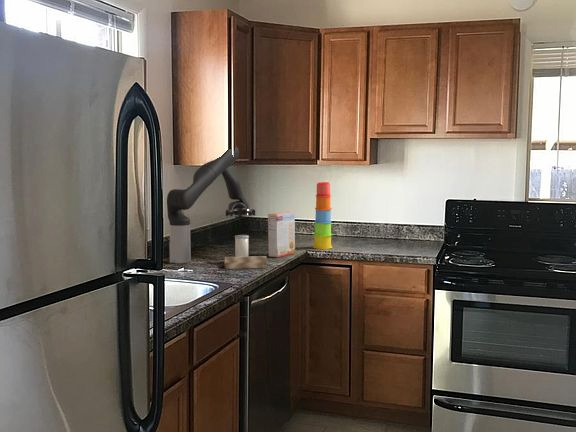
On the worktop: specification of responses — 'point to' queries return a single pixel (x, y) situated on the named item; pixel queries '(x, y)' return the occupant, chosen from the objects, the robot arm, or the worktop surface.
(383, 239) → the worktop surface
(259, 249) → the worktop surface
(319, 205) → the stacking cups
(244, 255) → the cylinder
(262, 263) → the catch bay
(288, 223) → the cracker box
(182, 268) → the worktop surface
